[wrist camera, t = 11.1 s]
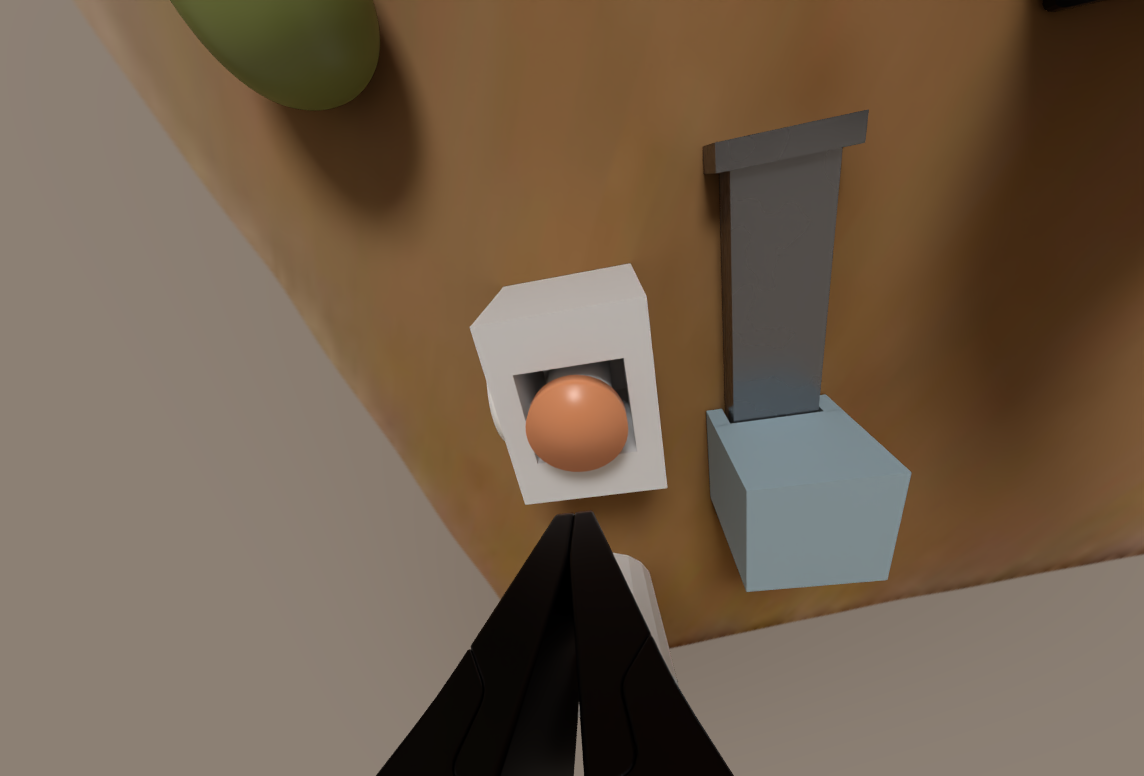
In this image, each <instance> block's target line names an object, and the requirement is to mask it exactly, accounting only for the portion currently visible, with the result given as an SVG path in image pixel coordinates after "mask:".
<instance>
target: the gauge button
mask: <svg viewBox="0 0 1144 776" xmlns="http://www.w3.org/2000/svg"><path fill="white" fill-rule="evenodd" d="M525 427H526V436H527V439H528V442H529V444H530V446H531V448H532V449H533V451H534V452H535V453H536V455H537V456H538V457H539V458H541V459H542V460H543V461H544V462H546V463H547V464H549V465H551V466H553V467H555V468H558V469H561V470H565V471H571V472H585V471H591V470H595V469H598V468H600V467H603V466H605V465H606V464H608V463H610V462H611V461H612V460H614V459H615V458H616V457H617V456H618V455H619V453H620V452H621V451H622V449H623V447H624V446H625V443H626V441H627V436H628V422H627V415H626V410H625V406H624V403H623V401H622V399H621V398H620V396H619V395H618V393H617V392H616V391H615V390H614V389H613V388H612V379H611V369H610V360H607V361H601V362H595V363H588V364H582V365H576V366H569V367H563V368H557V369H550V370H549V373H548V378H547V382H546V385H544V386H543V387H542V388H541V389H540V390H539V391H538V392H537V393H536V395H535V396H534V398H533V400H532V402H531V404H530V408H529V412H528V415H527V419H526V426H525Z"/></svg>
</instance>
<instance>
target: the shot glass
mask: <svg viewBox="0 0 1144 776" xmlns="http://www.w3.org/2000/svg"><path fill="white" fill-rule="evenodd" d="M613 555H614V557H615V559H616V561H617V563H618V565H619V567H620V569H621V571H622V573H623V576H624V578H625V580H626V582H627V584H628V586H629V588H630V590H631V592H632V594H633V597H634V599H635V601H636V603H637V605H638V607H639V609H640V611H641V613H642V615H643V618H644V620H645V622H646V624H647V626H648V628H649V630H650V632H651V636H652V637H653V638H654V640H655V642H656V644H657V647H658V649H659V651H660V653H661V655H662V657H663V659H664V661H665V663H666V665H667V667H668V669H669V670H670V672H671V674H672V676H673V678H674V680H675V682H676V684H677V685H678V681H677V677H676V673H675V669H674V665H673V662H672V658H671V654H670V650H669V646H668V642H667V638H666V634H665V631H664V627H663V623H662V619H661V615H660V611H659V607H658V604H657V600H656V596H655V592H654V588H653V584H652V580H651V576H650V573H649V571H648V570H647V569H646V567H645V566H644V565H643V564H642V563H641V562H640V561H638V560H636V559H634V558H632V557H630V556H628V555H623V554H617V553H613ZM578 717H580V708H579V709H578Z"/></svg>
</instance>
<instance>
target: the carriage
mask: <svg viewBox="0 0 1144 776" xmlns="http://www.w3.org/2000/svg"><path fill="white" fill-rule="evenodd" d="M706 416H707V436H708V457H709V477H710V497H711V500H712V502H713V505H714V508H715V510H716V513H717V515H718V518H719V521H720V523H721V526H722V529H723V531H724V534H725V537H726V539H727V542H728V544H729V547H730V550H731V552H732V555H733V558H734V560H735V563H736V566H737V568H738V571H739V573H740V576H741V579H742V581H743V584H744V587H745V589H746V592H751V591H763V590H775V589H786V588H798V587H810V586H822V585H834V584H845V583H857V582H869V581H881V580H887V579H888V575H889V570H890V566H891V561H892V557H893V552H894V548H895V544H896V539H897V535H898V530H899V526H900V521H901V517H902V513H903V508H904V504H905V499H906V495H907V490H908V486H909V481H910V477H911V473H912V472H911V471H909V470H908V469H907V468H906V467H905V466H904V465H903V464H902V463H901V462H900V461H898V460H897V459H896V458H895V457H894V456H893V455H892V454H891V453H890V452H888V451H887V450H886V449H885V448H884V447H883V446H882V445H881V444H880V443H879V442H877V441H876V440H875V439H874V438H873V437H872V436H871V435H870V434H869V433H868V432H866V431H865V430H864V429H863V428H862V427H861V426H860V425H859V424H858V423H856V422H855V421H854V420H853V419H852V418H851V417H850V416H849V415H848V414H847V413H845V412H844V411H843V410H842V409H841V408H840V407H839V406H838V405H837V404H835V403H834V402H833V401H832V400H831V399H830V398H829V397H828V396H827V395H826V394H825V395H820V400H819V411H818V412H815V413H807V414H800V415H792V416H785V417H777V418H770V419H762V420H755V421H747V422H740V423H732V424H730V422H729V421H728V419H727V417H726V415H725V414H724V412H723V410H722V409H716V410H709V411H706Z"/></svg>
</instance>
